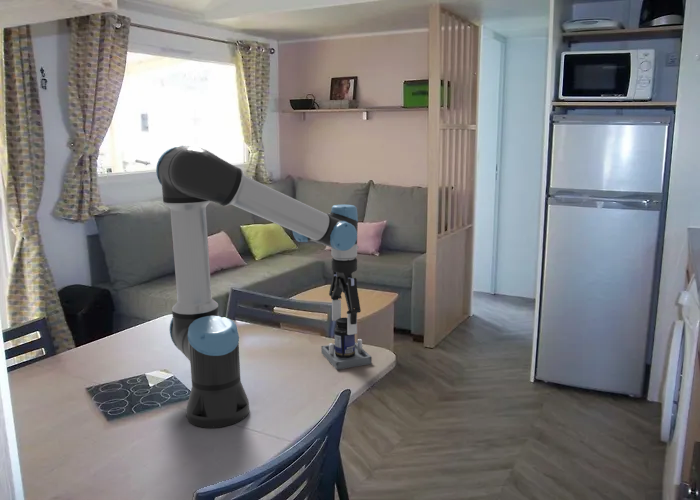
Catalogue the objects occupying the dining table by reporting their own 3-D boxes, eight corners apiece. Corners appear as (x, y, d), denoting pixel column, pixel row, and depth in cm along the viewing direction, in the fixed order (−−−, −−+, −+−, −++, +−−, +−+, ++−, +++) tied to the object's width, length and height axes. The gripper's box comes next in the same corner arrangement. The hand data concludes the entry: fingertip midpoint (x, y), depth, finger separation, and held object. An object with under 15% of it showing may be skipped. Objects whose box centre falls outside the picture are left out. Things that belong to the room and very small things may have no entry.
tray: (371, 363, 177) (371, 347, 176) (336, 369, 173) (336, 352, 172) (354, 347, 190) (354, 332, 189) (321, 352, 186) (321, 337, 185)
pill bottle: (356, 351, 184) (355, 316, 181) (354, 358, 178) (353, 323, 175) (336, 350, 184) (335, 316, 182) (333, 358, 178) (332, 322, 176)
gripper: (372, 265, 165) (371, 338, 169) (341, 249, 188) (341, 313, 192) (347, 267, 162) (346, 341, 166) (319, 250, 185) (319, 316, 189)
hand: (343, 327), depth 179 cm, fingers open, 13 cm apart
